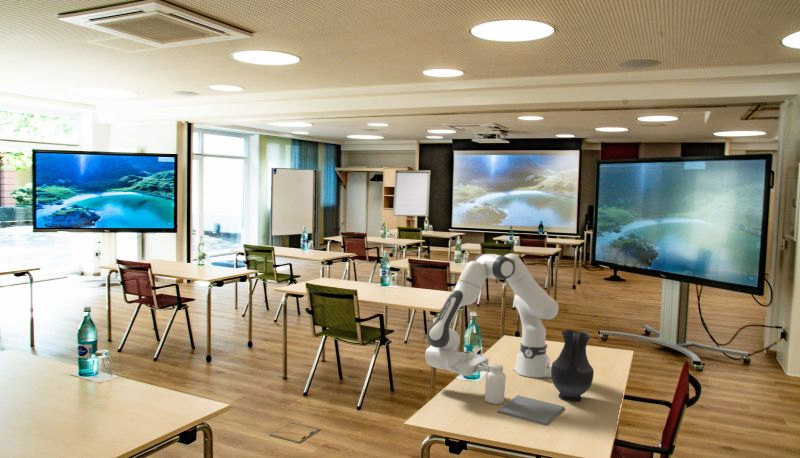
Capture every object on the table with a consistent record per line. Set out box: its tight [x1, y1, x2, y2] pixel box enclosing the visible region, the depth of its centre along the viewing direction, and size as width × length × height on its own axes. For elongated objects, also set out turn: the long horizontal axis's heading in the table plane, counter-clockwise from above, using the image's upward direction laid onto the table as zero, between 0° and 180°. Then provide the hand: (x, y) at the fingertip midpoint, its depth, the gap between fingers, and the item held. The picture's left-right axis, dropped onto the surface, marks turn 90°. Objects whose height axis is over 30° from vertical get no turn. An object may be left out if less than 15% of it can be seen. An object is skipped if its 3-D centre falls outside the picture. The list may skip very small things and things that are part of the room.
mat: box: [496, 395, 565, 426], centre depth 239 cm, size 22×20×1 cm
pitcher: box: [550, 329, 595, 403], centre depth 253 cm, size 17×21×30 cm
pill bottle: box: [484, 363, 506, 405], centre depth 247 cm, size 8×8×15 cm
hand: (489, 369), depth 248 cm, fingers closed
